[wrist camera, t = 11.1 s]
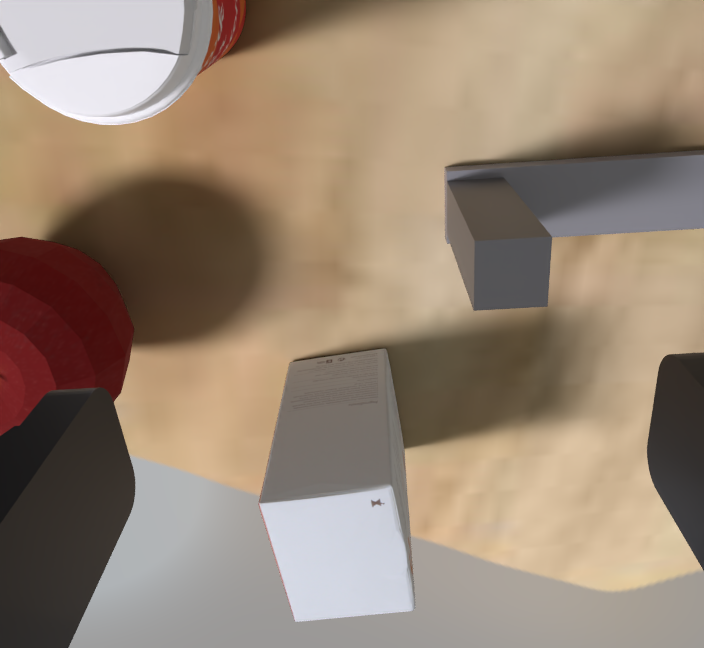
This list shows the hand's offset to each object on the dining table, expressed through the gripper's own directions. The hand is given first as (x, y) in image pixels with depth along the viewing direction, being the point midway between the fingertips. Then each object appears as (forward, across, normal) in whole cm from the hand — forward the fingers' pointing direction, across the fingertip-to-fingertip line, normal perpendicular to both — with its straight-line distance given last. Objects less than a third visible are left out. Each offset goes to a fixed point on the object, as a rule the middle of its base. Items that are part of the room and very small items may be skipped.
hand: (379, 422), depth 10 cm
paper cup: (+28, +8, -6) cm, 30 cm away
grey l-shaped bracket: (+28, -12, +5) cm, 31 cm away
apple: (+28, +19, +9) cm, 34 cm away
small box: (+27, +3, +18) cm, 33 cm away
